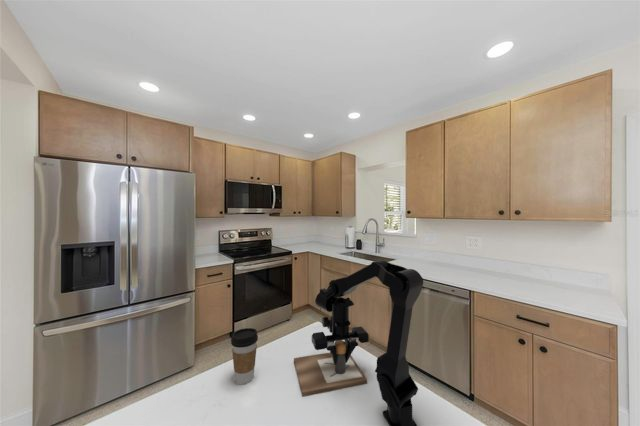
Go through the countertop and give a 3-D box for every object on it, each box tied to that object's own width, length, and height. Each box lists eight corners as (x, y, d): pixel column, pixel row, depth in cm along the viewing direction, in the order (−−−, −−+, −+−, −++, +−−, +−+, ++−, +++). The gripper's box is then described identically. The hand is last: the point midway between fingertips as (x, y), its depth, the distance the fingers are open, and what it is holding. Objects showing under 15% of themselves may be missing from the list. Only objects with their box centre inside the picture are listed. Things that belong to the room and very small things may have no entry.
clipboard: (367, 383, 74) (367, 378, 74) (302, 396, 68) (302, 391, 68) (347, 352, 90) (347, 349, 90) (293, 361, 85) (293, 357, 85)
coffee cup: (249, 389, 71) (250, 340, 71) (225, 385, 73) (225, 337, 73) (262, 371, 79) (262, 327, 79) (239, 368, 81) (239, 325, 81)
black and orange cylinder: (347, 373, 76) (347, 345, 76) (336, 375, 75) (336, 347, 75) (343, 365, 80) (343, 339, 80) (332, 367, 79) (332, 341, 79)
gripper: (355, 304, 88) (355, 345, 88) (308, 309, 83) (307, 353, 83) (369, 316, 77) (369, 363, 77) (315, 323, 72) (315, 374, 72)
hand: (340, 362), depth 77 cm, fingers closed on black and orange cylinder, 4 cm apart
